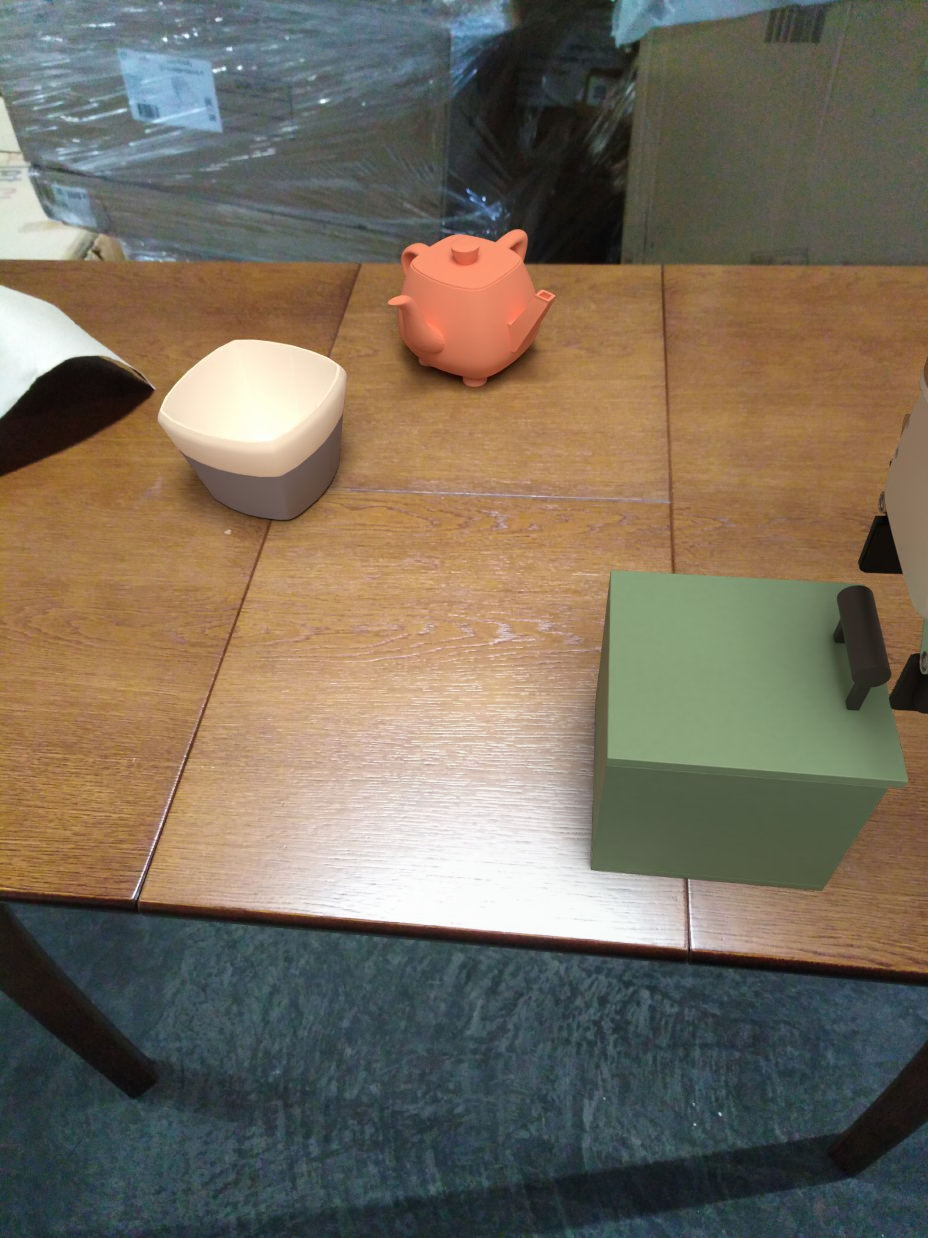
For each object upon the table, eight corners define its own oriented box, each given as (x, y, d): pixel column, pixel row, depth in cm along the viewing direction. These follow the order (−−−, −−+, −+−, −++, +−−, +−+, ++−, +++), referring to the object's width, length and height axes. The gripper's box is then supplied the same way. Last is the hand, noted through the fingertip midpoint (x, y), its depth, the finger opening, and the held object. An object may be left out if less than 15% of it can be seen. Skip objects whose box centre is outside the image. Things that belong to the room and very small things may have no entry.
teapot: (555, 388, 98) (558, 273, 87) (401, 410, 97) (387, 296, 86) (525, 310, 108) (525, 198, 98) (386, 329, 107) (371, 218, 97)
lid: (861, 591, 59) (887, 534, 55) (904, 789, 50) (939, 737, 45) (609, 577, 61) (616, 520, 56) (606, 765, 51) (613, 713, 47)
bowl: (169, 508, 88) (131, 417, 80) (255, 418, 97) (229, 326, 88) (301, 551, 84) (276, 459, 75) (379, 452, 92) (365, 359, 84)
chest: (796, 712, 70) (848, 591, 59) (822, 891, 61) (889, 787, 50) (595, 698, 72) (609, 577, 61) (590, 870, 62) (605, 765, 51)
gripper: (1223, 514, 30) (1018, 776, 43) (1063, 256, 41) (939, 527, 54) (985, 508, 31) (855, 765, 44) (892, 257, 42) (810, 523, 55)
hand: (902, 634), depth 49 cm, fingers open, 9 cm apart
